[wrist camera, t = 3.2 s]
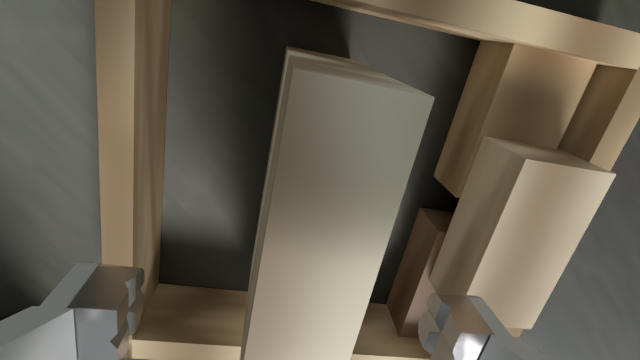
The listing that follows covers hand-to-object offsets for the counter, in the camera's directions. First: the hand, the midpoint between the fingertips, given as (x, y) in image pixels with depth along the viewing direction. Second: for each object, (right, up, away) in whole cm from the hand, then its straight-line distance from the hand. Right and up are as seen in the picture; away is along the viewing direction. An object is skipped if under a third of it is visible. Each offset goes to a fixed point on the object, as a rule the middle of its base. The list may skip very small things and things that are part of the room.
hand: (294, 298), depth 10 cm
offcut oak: (+10, +7, +9) cm, 15 cm away
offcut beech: (+9, +1, +8) cm, 12 cm away
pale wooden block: (0, +4, +8) cm, 9 cm away
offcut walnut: (+8, -2, +12) cm, 14 cm away
